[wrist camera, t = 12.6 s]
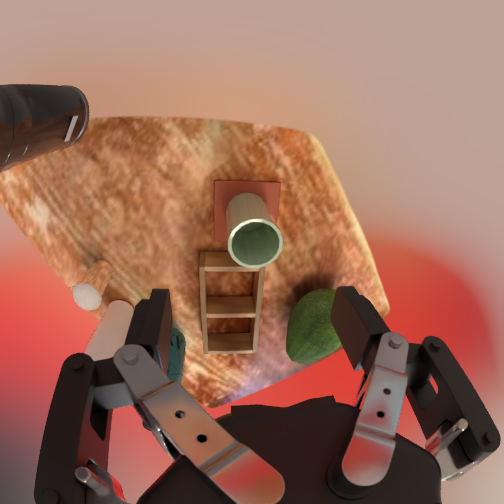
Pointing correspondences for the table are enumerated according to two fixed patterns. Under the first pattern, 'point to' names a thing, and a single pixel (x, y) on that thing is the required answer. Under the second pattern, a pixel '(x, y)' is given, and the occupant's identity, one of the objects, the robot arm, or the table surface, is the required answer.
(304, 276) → the table surface
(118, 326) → the drinking glass
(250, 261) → the cup
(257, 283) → the brown wooden shelf
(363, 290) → the table surface
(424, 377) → the robot arm
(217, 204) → the coaster mat
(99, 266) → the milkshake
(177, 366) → the beverage bottle
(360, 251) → the table surface
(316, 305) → the fruit
